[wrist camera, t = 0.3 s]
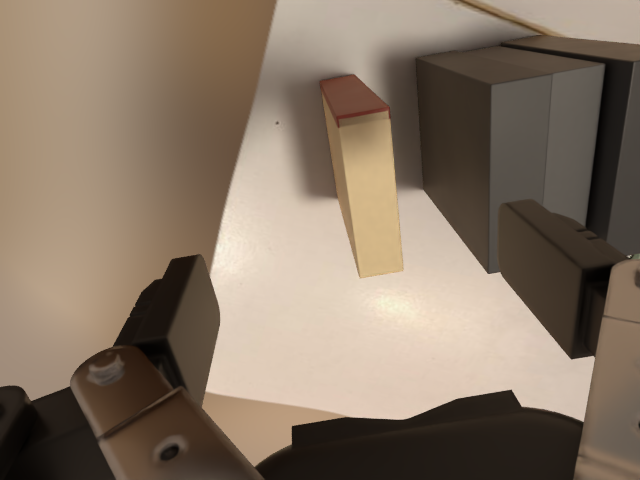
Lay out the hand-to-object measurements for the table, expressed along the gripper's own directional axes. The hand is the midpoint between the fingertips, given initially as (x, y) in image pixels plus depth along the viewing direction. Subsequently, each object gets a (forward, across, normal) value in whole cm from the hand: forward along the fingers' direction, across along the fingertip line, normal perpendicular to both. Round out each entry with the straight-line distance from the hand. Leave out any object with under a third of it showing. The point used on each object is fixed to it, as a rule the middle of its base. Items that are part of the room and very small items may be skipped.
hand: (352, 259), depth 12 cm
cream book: (+23, -2, +3) cm, 23 cm away
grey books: (+23, -12, +3) cm, 26 cm away
